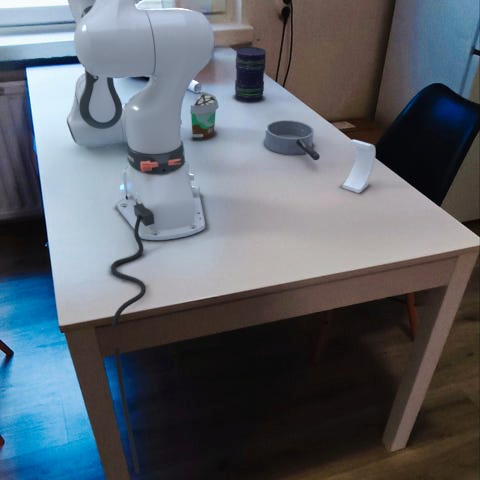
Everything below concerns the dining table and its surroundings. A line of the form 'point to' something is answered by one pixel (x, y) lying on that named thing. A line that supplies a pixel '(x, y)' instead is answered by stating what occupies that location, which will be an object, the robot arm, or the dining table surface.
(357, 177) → the headphone stand
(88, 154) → the dining table surface
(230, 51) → the dining table surface
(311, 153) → the saucepan handle
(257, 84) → the storage jar
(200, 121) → the food container
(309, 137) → the saucepan
